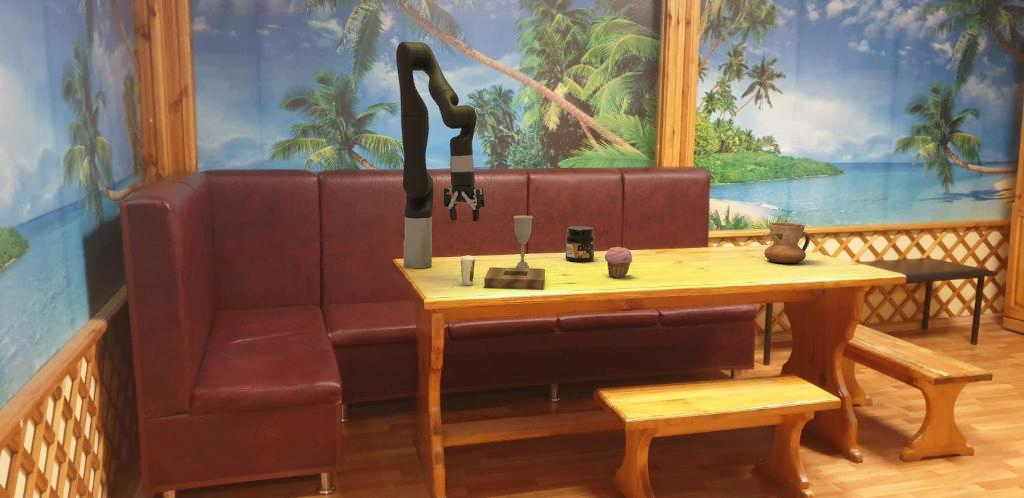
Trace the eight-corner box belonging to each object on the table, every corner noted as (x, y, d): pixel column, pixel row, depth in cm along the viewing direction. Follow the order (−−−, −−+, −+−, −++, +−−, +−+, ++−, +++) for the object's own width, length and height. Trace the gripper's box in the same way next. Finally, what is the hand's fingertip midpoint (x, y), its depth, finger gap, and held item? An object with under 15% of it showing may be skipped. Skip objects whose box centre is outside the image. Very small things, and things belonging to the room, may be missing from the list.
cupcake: (599, 275, 265) (600, 245, 263) (620, 273, 269) (621, 244, 267) (615, 280, 257) (616, 249, 255) (636, 278, 261) (638, 247, 260)
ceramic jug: (771, 266, 286) (774, 226, 284) (754, 258, 300) (756, 221, 298) (818, 265, 289) (821, 226, 286) (799, 258, 303) (802, 221, 300)
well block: (484, 287, 243) (484, 278, 242) (489, 276, 261) (489, 267, 260) (543, 289, 242) (543, 279, 241) (544, 277, 259) (544, 268, 259)
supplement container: (564, 262, 288) (565, 229, 286) (566, 257, 298) (566, 225, 296) (593, 263, 286) (594, 230, 284) (594, 258, 297) (595, 226, 295)
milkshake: (457, 283, 249) (457, 251, 248) (474, 283, 250) (474, 251, 248) (457, 286, 245) (457, 254, 243) (475, 286, 245) (475, 254, 243)
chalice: (530, 271, 270) (531, 218, 267) (510, 270, 271) (511, 217, 268) (534, 267, 277) (534, 216, 274) (514, 266, 278) (515, 215, 275)
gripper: (437, 170, 252) (439, 221, 255) (473, 171, 245) (476, 223, 247) (451, 168, 259) (453, 218, 261) (487, 169, 251) (489, 220, 254)
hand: (464, 220), depth 254 cm, fingers open, 8 cm apart
